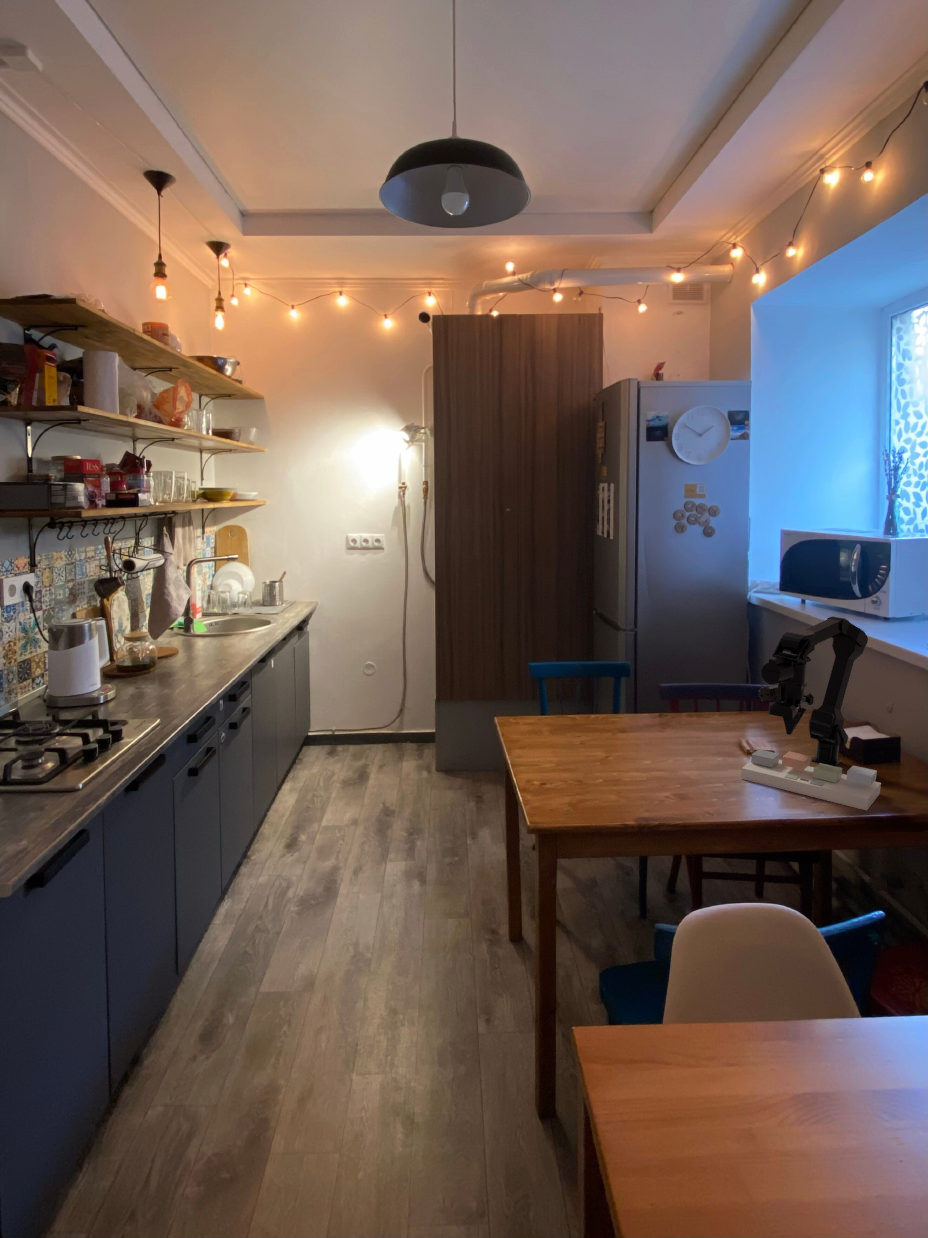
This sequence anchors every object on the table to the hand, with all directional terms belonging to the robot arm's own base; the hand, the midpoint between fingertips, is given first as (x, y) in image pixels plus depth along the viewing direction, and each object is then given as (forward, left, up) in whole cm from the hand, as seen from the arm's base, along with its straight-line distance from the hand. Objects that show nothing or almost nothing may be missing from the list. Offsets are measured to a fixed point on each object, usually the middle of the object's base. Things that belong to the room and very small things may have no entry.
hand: (789, 734), depth 212 cm
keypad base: (+6, +8, -11) cm, 15 cm away
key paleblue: (+5, +20, -7) cm, 21 cm away
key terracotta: (+5, +4, -6) cm, 9 cm away
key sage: (+5, +12, -8) cm, 15 cm away
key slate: (+5, -4, -8) cm, 10 cm away
